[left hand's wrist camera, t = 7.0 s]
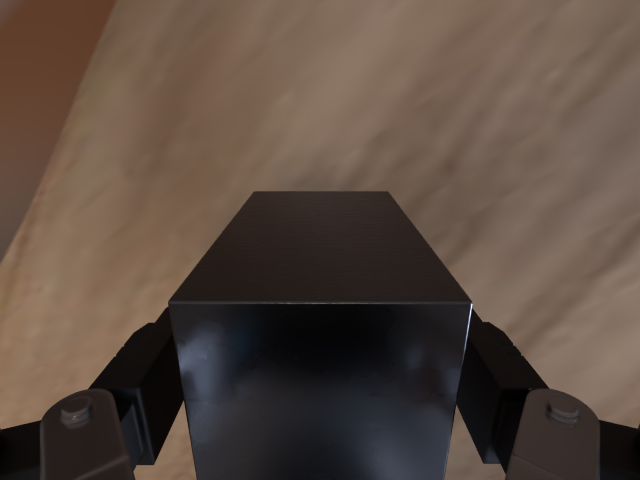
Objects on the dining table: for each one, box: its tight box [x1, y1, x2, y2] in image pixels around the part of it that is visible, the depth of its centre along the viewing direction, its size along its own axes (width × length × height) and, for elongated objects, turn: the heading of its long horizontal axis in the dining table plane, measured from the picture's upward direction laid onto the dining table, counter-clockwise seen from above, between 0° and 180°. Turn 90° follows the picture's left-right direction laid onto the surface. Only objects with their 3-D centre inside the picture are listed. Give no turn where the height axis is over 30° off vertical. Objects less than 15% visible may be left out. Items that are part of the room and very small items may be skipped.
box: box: [168, 191, 472, 480], centre depth 15 cm, size 22×6×10 cm, turn 0°
